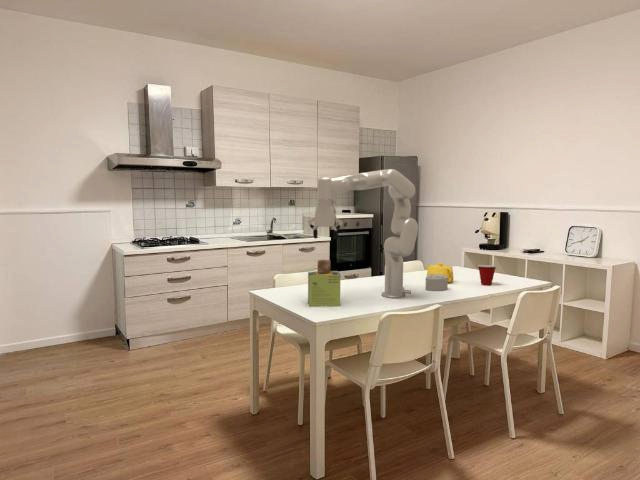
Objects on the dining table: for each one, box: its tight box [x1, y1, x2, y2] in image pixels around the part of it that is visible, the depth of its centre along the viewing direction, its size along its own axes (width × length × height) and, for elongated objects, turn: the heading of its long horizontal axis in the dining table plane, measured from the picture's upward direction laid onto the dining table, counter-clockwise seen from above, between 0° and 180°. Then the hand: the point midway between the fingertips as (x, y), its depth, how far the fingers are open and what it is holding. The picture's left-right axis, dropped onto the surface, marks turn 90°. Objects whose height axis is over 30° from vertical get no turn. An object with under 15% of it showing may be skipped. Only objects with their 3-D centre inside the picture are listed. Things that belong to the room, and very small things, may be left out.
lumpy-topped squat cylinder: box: [425, 274, 449, 292], centre depth 253 cm, size 10×13×9 cm
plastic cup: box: [477, 264, 497, 286], centre depth 267 cm, size 11×11×12 cm
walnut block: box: [317, 259, 331, 274], centre depth 215 cm, size 5×5×6 cm
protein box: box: [307, 270, 341, 307], centre depth 216 cm, size 10×15×16 cm
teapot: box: [425, 262, 454, 284], centre depth 277 cm, size 20×12×12 cm, turn 34°
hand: (325, 238), depth 215 cm, fingers open, 9 cm apart
